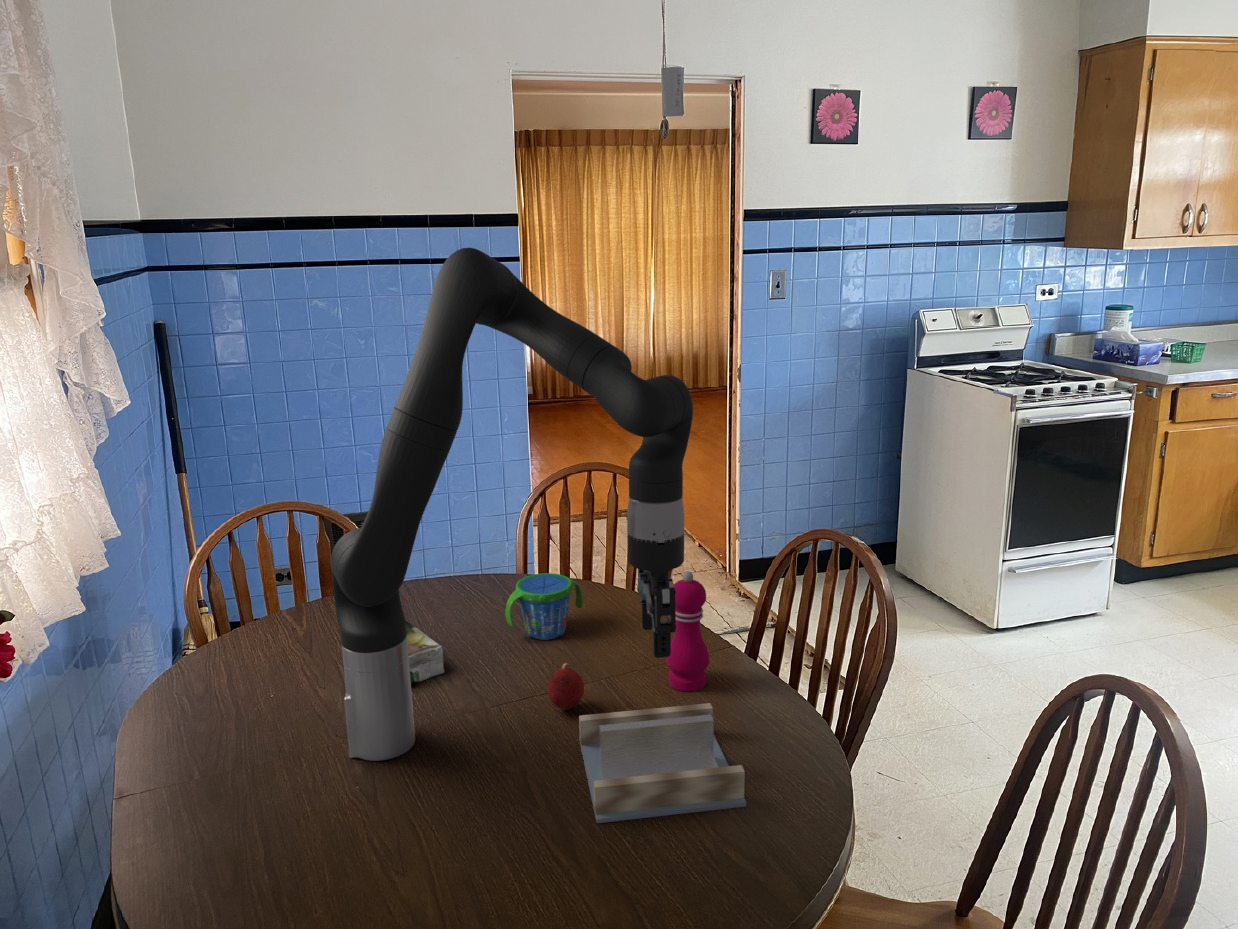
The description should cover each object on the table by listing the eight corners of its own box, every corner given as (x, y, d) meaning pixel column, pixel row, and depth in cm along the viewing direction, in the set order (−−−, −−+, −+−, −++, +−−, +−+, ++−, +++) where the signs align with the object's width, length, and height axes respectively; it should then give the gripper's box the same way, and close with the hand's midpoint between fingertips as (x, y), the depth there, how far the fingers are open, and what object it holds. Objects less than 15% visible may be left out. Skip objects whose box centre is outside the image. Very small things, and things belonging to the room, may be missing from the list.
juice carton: (450, 674, 156) (447, 642, 155) (399, 694, 150) (395, 660, 149) (396, 638, 171) (393, 608, 170) (347, 655, 165) (343, 624, 163)
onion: (579, 721, 140) (578, 674, 138) (544, 717, 142) (542, 671, 140) (588, 702, 146) (587, 657, 144) (554, 699, 147) (552, 654, 145)
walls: (595, 814, 117) (594, 787, 116) (579, 739, 134) (579, 715, 133) (744, 798, 120) (744, 771, 119) (709, 726, 137) (710, 703, 136)
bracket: (606, 793, 121) (605, 749, 120) (600, 768, 127) (599, 725, 125) (721, 781, 124) (722, 737, 122) (710, 756, 129) (710, 714, 128)
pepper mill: (660, 689, 150) (659, 577, 145) (674, 670, 156) (674, 561, 151) (701, 696, 147) (702, 582, 142) (714, 677, 154) (715, 567, 149)
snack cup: (516, 652, 164) (513, 600, 161) (498, 630, 173) (495, 581, 170) (594, 635, 170) (593, 585, 167) (573, 614, 179) (571, 567, 177)
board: (596, 823, 116) (596, 819, 116) (579, 739, 135) (578, 736, 135) (746, 806, 119) (746, 802, 119) (708, 726, 138) (708, 723, 138)
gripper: (619, 514, 124) (620, 622, 129) (636, 549, 111) (637, 668, 115) (672, 511, 126) (671, 618, 130) (696, 545, 112) (694, 664, 116)
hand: (655, 642), depth 122 cm, fingers open, 8 cm apart
